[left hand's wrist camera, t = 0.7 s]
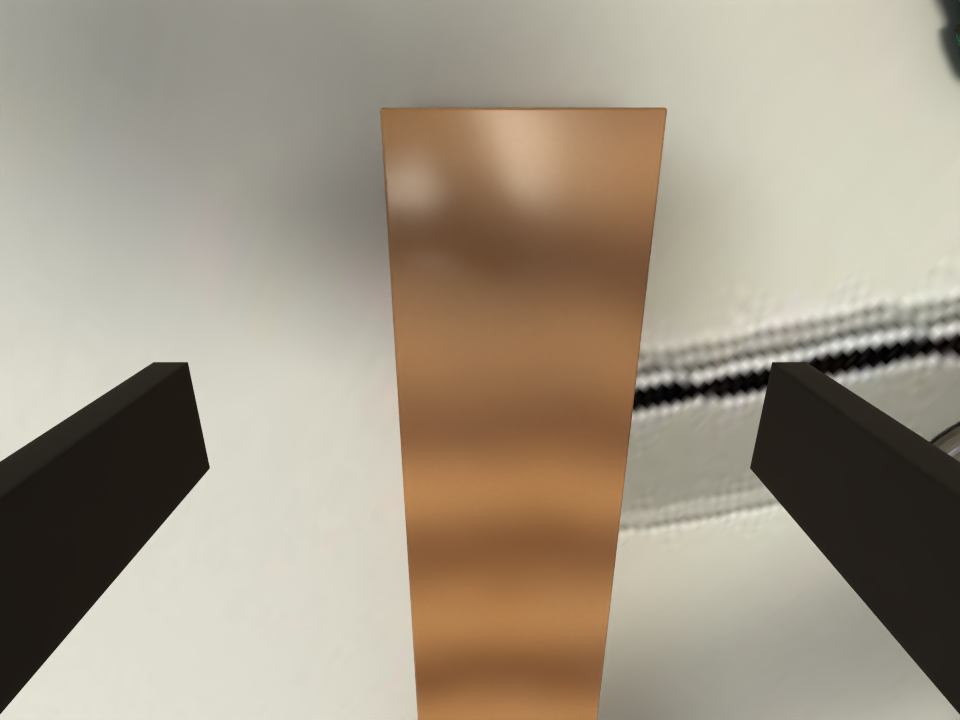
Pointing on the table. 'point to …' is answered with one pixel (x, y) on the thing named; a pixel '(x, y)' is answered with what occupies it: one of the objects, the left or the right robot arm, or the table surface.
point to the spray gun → (958, 32)
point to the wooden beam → (516, 390)
